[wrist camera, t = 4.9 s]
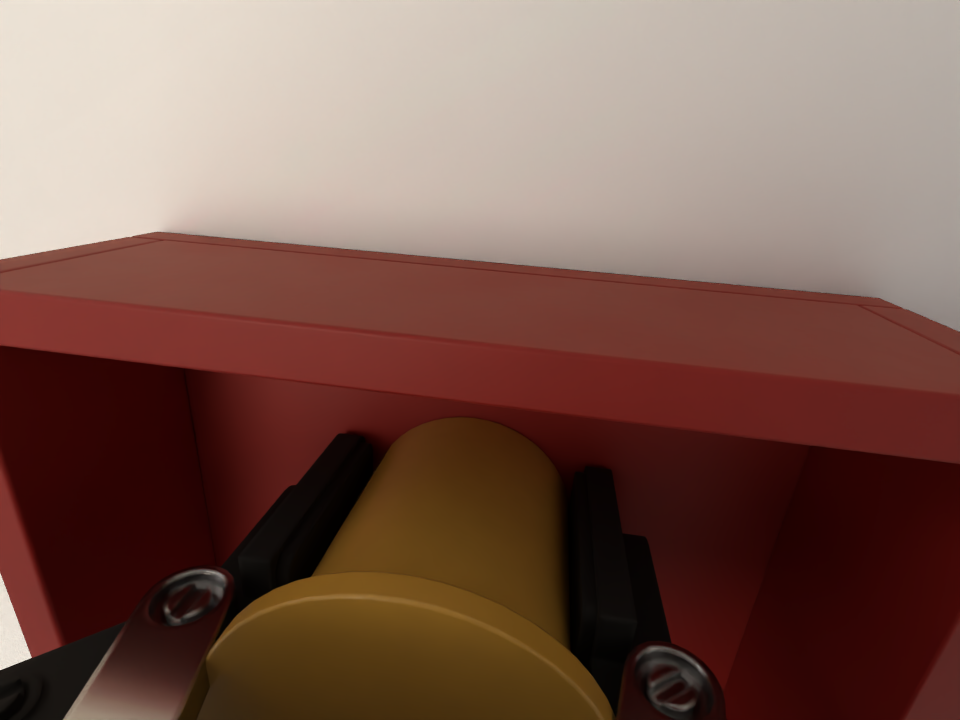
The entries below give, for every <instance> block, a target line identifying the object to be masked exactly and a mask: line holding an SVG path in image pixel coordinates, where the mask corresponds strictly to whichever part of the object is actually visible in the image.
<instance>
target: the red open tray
mask: <svg viewBox="0 0 960 720" xmlns="http://www.w3.org/2000/svg"><path fill="white" fill-rule="evenodd" d="M452 417H468V418H478V419H483V420H488V421H492V422H495V423H498V424H501V425H504V426H506V427H508V428H510V429H513V430H515V431H516V432H518V433H520V434H521V435H523V436H525V437H526V438H528V439H529V440H530V441H532V442H533V443H534V444H535V445H537V446H538V447H539V448H540V449H541V450H542V451H543V452H544V453H545V454H546V455H547V457H548V458H549V459H550V460H551V462H552V463H553V464H554V466H555V467H556V469H557V471H558V473H559V474H560V476H561V479H562V481H563V484H564V486H565V490H566V494H567V498H568V511H569V505H570V499H571V492H572V486H573V480H574V474H575V471H577V472H584V469H585V467H586V466H590V467H597V468H605V469H611V470H612V474H613V480H614V486H615V492H616V498H617V504H618V510H619V516H620V522H621V528H622V533H625V534H632V535H639V536H645V537H646V538H647V541H648V544H649V548H650V552H651V557H652V561H653V565H654V569H655V574H656V578H657V582H658V587H659V591H660V595H661V600H662V604H663V608H664V612H665V617H666V621H667V625H668V630H669V634H670V638H671V643H672V644H676V645H678V646H680V647H682V648H684V649H686V650H688V651H690V652H691V653H693V654H694V655H695V656H697V657H698V658H699V659H701V660H702V661H703V662H704V663H705V664H706V665H707V666H708V668H709V669H710V670H711V671H712V672H713V673H714V674H715V676H716V678H717V680H718V682H719V684H720V685H721V687H722V690H723V695H724V699H725V707H726V719H727V720H960V332H958V331H956V330H954V329H951V328H949V327H947V326H944V325H942V324H940V323H937V322H935V321H933V320H930V319H928V318H926V317H923V316H921V315H919V314H916V313H914V312H912V311H909V310H905V309H903V308H901V307H899V306H896V305H894V304H892V303H889V302H887V301H885V300H882V299H880V298H872V297H861V296H850V295H839V294H828V293H817V292H806V291H796V290H785V289H774V288H763V287H752V286H741V285H730V284H719V283H709V282H698V281H687V280H676V279H665V278H654V277H643V276H632V275H621V274H611V273H600V272H589V271H578V270H567V269H556V268H545V267H534V266H524V265H513V264H502V263H491V262H480V261H469V260H458V259H447V258H436V257H426V256H415V255H404V254H393V253H382V252H371V251H360V250H349V249H339V248H328V247H317V246H306V245H295V244H284V243H273V242H262V241H252V240H241V239H230V238H219V237H208V236H197V235H186V234H175V233H164V232H154V233H148V234H142V235H137V236H133V237H126V238H121V239H115V240H109V241H103V242H98V243H92V244H86V245H81V246H75V247H69V248H64V249H58V250H52V251H47V252H41V253H35V254H30V255H24V256H18V257H13V258H7V259H1V260H0V573H1V576H2V578H3V581H4V584H5V586H6V589H7V592H8V595H9V597H10V600H11V603H12V605H13V608H14V611H15V613H16V616H17V619H18V622H19V624H20V627H21V630H22V632H23V635H24V638H25V640H26V643H27V646H28V648H29V651H30V654H31V657H32V658H33V657H36V656H38V655H41V654H44V653H46V652H49V651H51V650H54V649H56V648H59V647H62V646H64V645H67V644H69V643H72V642H74V641H77V640H79V639H82V638H85V637H87V636H90V635H92V634H95V633H97V632H100V631H102V630H105V629H108V628H110V627H113V626H115V625H118V624H120V623H123V622H125V621H127V620H128V619H129V617H130V615H131V614H132V612H133V611H134V609H135V608H136V606H137V605H138V603H139V602H140V600H141V599H142V597H143V596H144V595H145V594H146V593H147V591H148V590H149V589H150V588H151V587H152V586H153V585H155V584H156V583H157V582H159V581H160V580H161V579H163V578H164V577H166V576H168V575H170V574H172V573H174V572H176V571H179V570H182V569H185V568H189V567H192V566H200V565H211V566H218V567H221V566H222V565H223V563H224V562H225V561H226V560H227V559H228V558H229V556H230V555H231V554H232V553H233V552H234V550H235V549H236V548H237V547H238V546H239V544H240V543H241V542H242V541H243V540H244V538H245V537H246V536H247V535H248V534H249V532H250V531H251V530H252V529H253V528H254V526H255V525H256V524H257V523H258V522H259V520H260V519H261V518H262V517H263V516H264V514H265V513H266V512H267V511H268V510H269V509H270V507H271V506H272V505H273V504H274V503H275V501H276V500H277V499H278V498H279V497H280V495H281V494H282V493H283V492H284V491H285V490H286V489H287V488H288V487H289V486H291V485H296V484H297V483H298V482H299V481H300V480H301V478H302V477H303V476H304V475H305V473H306V472H307V471H308V470H309V469H310V467H311V466H312V465H313V464H314V462H315V461H316V460H317V459H318V457H319V456H320V455H321V454H322V453H323V451H324V450H325V449H326V448H327V446H328V445H329V444H330V443H331V442H332V440H333V439H334V438H335V437H336V435H338V434H339V433H343V434H350V435H358V436H363V437H364V438H365V441H366V443H370V444H372V447H373V472H374V471H375V469H376V467H377V466H378V464H379V462H380V461H381V459H382V457H383V456H384V454H385V452H386V451H387V450H388V448H389V447H390V446H391V445H392V444H393V443H394V442H395V441H396V440H397V439H398V438H399V437H400V436H402V435H403V434H405V433H406V432H408V431H409V430H411V429H413V428H415V427H417V426H419V425H421V424H424V423H427V422H430V421H434V420H438V419H444V418H452Z"/></svg>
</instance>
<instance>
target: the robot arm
mask: <svg viewBox="0 0 960 720" xmlns="http://www.w3.org/2000/svg"><path fill="white" fill-rule="evenodd" d="M372 474H373V447H372V444H370V443H366V441H365V438H364V437H363V436H358V435H350V434H343V433H339V434H338V435H336V437H335V438H334V439H333V440H332V442H331V443H330V444H329V445H328V446H327V448H326V449H325V450H324V451H323V453H322V454H321V455H320V456H319V457H318V459H317V460H316V461H315V462H314V464H313V465H312V466H311V467H310V469H309V470H308V471H307V472H306V473H305V475H304V476H303V477H302V478H301V480H300V481H299V482H298V483H297V484H296V485H291V486H289V487H288V488H287V489H286V490H285V491H284V492H283V493H282V494H281V495H280V497H279V498H278V499H277V500H276V501H275V503H274V504H273V505H272V506H271V507H270V509H269V510H268V511H267V512H266V513H265V514H264V516H263V517H262V518H261V519H260V520H259V522H258V523H257V524H256V525H255V526H254V528H253V529H252V530H251V531H250V532H249V534H248V535H247V536H246V537H245V538H244V540H243V541H242V542H241V543H240V544H239V546H238V547H237V548H236V549H235V550H234V552H233V553H232V554H231V555H230V556H229V558H228V559H227V560H226V561H225V562H224V563H223V565H222V566H221V567H218V566H211V565H200V566H192V567H189V568H185V569H182V570H179V571H176V572H174V573H172V574H170V575H168V576H166V577H164V578H163V579H161V580H160V581H159V582H157V583H156V584H155V585H153V586H152V587H151V588H150V589H149V590H148V591H147V593H146V594H145V595H144V596H143V597H142V599H141V600H140V602H139V603H138V605H137V606H136V608H135V609H134V611H133V612H132V614H131V615H130V617H129V619H128V620H127V621H125V622H123V623H120V624H118V625H115V626H113V627H110V628H108V629H105V630H102V631H100V632H97V633H95V634H92V635H90V636H87V637H85V638H82V639H79V640H77V641H74V642H72V643H69V644H67V645H64V646H62V647H59V648H56V649H54V650H51V651H49V652H46V653H44V654H41V655H38V656H36V657H33V658H31V659H28V660H26V661H23V662H21V663H18V664H15V665H13V666H10V667H8V668H5V669H3V670H0V720H197V718H198V715H199V713H200V710H201V708H202V705H203V703H204V701H205V698H206V696H207V693H208V691H209V688H210V683H209V678H208V673H207V668H206V658H207V655H208V653H209V651H210V650H211V648H212V647H213V646H214V644H215V643H216V641H217V640H218V639H219V637H220V636H221V634H222V633H223V632H224V630H225V629H226V628H227V626H228V625H229V624H230V623H231V622H232V620H233V619H234V618H235V617H236V615H237V614H239V613H240V612H241V611H242V610H243V609H245V608H246V607H247V606H248V605H249V604H251V603H252V602H253V601H255V600H256V599H258V598H260V597H261V596H263V595H265V594H267V593H268V592H270V591H272V590H274V589H276V588H278V587H281V586H283V585H286V584H289V583H291V582H294V581H296V580H300V579H304V578H309V577H311V576H312V574H313V572H314V571H315V569H316V567H317V566H318V564H319V562H320V561H321V559H322V557H323V556H324V554H325V552H326V551H327V549H328V547H329V546H330V544H331V542H332V541H333V539H334V537H335V536H336V534H337V532H338V531H339V529H340V527H341V526H342V524H343V522H344V521H345V519H346V517H347V516H348V514H349V512H350V511H351V509H352V507H353V506H354V504H355V502H356V501H357V499H358V497H359V496H360V494H361V492H362V491H363V489H364V487H365V486H366V484H367V482H368V481H369V479H370V477H371V476H372ZM568 514H569V554H570V594H571V633H572V654H573V655H574V656H575V657H576V658H577V659H578V660H579V661H580V662H581V663H582V665H583V666H584V667H585V668H586V669H587V670H588V672H589V673H590V674H591V675H592V676H593V678H594V679H595V681H596V682H597V684H598V685H599V687H600V688H601V690H602V691H603V693H604V694H605V696H606V698H607V699H608V701H609V704H610V706H611V708H612V710H613V713H614V715H615V717H616V719H615V720H727V719H726V707H725V699H724V695H723V690H722V687H721V685H720V684H719V682H718V680H717V678H716V676H715V674H714V673H713V672H712V671H711V670H710V669H709V668H708V666H707V665H706V664H705V663H704V662H703V661H702V660H701V659H699V658H698V657H697V656H695V655H694V654H693V653H691V652H690V651H688V650H686V649H684V648H682V647H680V646H678V645H676V644H672V643H671V638H670V634H669V630H668V625H667V621H666V617H665V612H664V608H663V604H662V600H661V595H660V591H659V587H658V582H657V578H656V574H655V569H654V565H653V561H652V557H651V552H650V548H649V544H648V541H647V538H646V537H645V536H639V535H632V534H625V533H622V528H621V522H620V516H619V510H618V504H617V498H616V492H615V486H614V480H613V474H612V470H611V469H605V468H597V467H590V466H586V467H585V469H584V472H577V471H575V474H574V480H573V486H572V492H571V499H570V505H569V511H568Z"/></svg>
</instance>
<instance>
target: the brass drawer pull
mask: <svg viewBox="0 0 960 720" xmlns="http://www.w3.org/2000/svg"><path fill="white" fill-rule="evenodd" d="M206 668H207V673H208V678H209V683H210V688H209V691H208V693H207V696H206V698H205V701H204V703H203V705H202V708H201V710H200V713H199V715H198V718H197V720H615V719H616V717H615V715H614V713H613V710H612V708H611V706H610V704H609V701H608V699H607V698H606V696H605V694H604V693H603V691H602V690H601V688H600V687H599V685H598V684H597V682H596V681H595V679H594V678H593V676H592V675H591V674H590V673H589V672H588V670H587V669H586V668H585V667H584V666H583V665H582V663H581V662H580V661H579V660H578V659H577V658H576V657H575V656H574V655H573V654H572V633H571V594H570V554H569V514H568V498H567V494H566V490H565V486H564V484H563V481H562V479H561V476H560V474H559V473H558V471H557V469H556V467H555V466H554V464H553V463H552V462H551V460H550V459H549V458H548V457H547V455H546V454H545V453H544V452H543V451H542V450H541V449H540V448H539V447H538V446H537V445H535V444H534V443H533V442H532V441H530V440H529V439H528V438H526V437H525V436H523V435H521V434H520V433H518V432H516V431H515V430H513V429H510V428H508V427H506V426H504V425H501V424H498V423H495V422H492V421H488V420H483V419H478V418H468V417H452V418H444V419H438V420H434V421H430V422H427V423H424V424H421V425H419V426H417V427H415V428H413V429H411V430H409V431H408V432H406V433H405V434H403V435H402V436H400V437H399V438H398V439H397V440H396V441H395V442H394V443H393V444H392V445H391V446H390V447H389V448H388V450H387V451H386V452H385V454H384V456H383V457H382V459H381V461H380V462H379V464H378V466H377V467H376V469H375V471H374V472H373V474H372V476H371V477H370V479H369V481H368V482H367V484H366V486H365V487H364V489H363V491H362V492H361V494H360V496H359V497H358V499H357V501H356V502H355V504H354V506H353V507H352V509H351V511H350V512H349V514H348V516H347V517H346V519H345V521H344V522H343V524H342V526H341V527H340V529H339V531H338V532H337V534H336V536H335V537H334V539H333V541H332V542H331V544H330V546H329V547H328V549H327V551H326V552H325V554H324V556H323V557H322V559H321V561H320V562H319V564H318V566H317V567H316V569H315V571H314V572H313V574H312V576H311V577H309V578H304V579H300V580H296V581H294V582H291V583H289V584H286V585H283V586H281V587H278V588H276V589H274V590H272V591H270V592H268V593H267V594H265V595H263V596H261V597H260V598H258V599H256V600H255V601H253V602H252V603H251V604H249V605H248V606H247V607H246V608H245V609H243V610H242V611H241V612H240V613H239V614H237V615H236V617H235V618H234V619H233V620H232V622H231V623H230V624H229V625H228V626H227V628H226V629H225V630H224V632H223V633H222V634H221V636H220V637H219V639H218V640H217V641H216V643H215V644H214V646H213V647H212V648H211V650H210V651H209V653H208V655H207V658H206Z"/></svg>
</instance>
